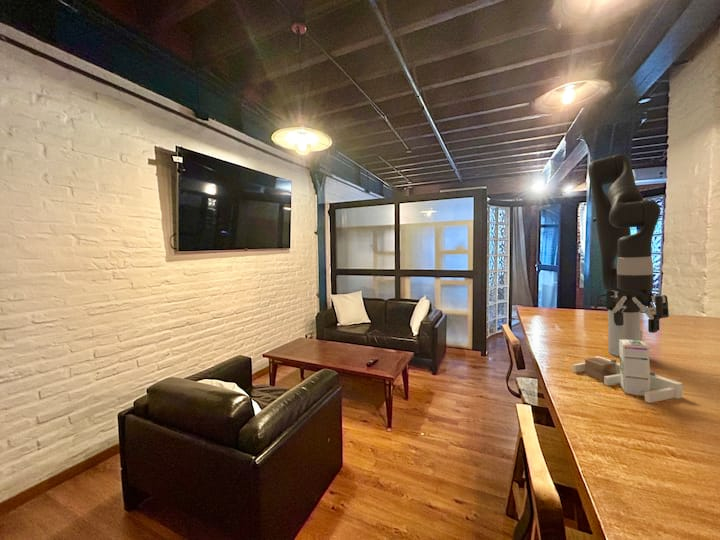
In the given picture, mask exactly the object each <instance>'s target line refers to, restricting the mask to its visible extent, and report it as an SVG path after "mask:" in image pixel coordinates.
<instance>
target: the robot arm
mask: <svg viewBox="0 0 720 540" xmlns="http://www.w3.org/2000/svg"><path fill="white" fill-rule="evenodd" d="M587 170H588V171H587V172H588V179H589V183H590V188H591V192H592V197H593V202H594V203H593V204H594V210H595V211H594V212H595V222H596V223H595V225H596V230H597V239H598V245H599V249H600V257H601V258H600V259H601V281H602V286H603V288H604V290H605V291H606V303H605V304H606V305H605V309H606V310H607V322H608V323H607V328H608V331H607V332H608V333H607V334H608V335H607V336H608V353H609V354H610V355H613V356H616V357H618V358H620V352H619V339H620V340H639V341H643V331H642V329H641V312H642V313H644V314H645V315H646V316H647V317H648V320H647V324H648V327H647V328H648V329H647V331H648V332H649V333H652V334H655V333H657V332H658V331H660V320H661V319H665V318H666V319H667V318H669V316H670V313H669V301H668V296H667V295H666V294H662V295H654V294H653V289H654V263H653V258H652V242H653V241H652V240H653V236H654V232H655V229H656V226H657V224H658V221H659V218H660V216H661V207H660V205H659V203H658V202H656V201H654V200H652V199H651V200H648V199H647V200H644V197H643V195H642V193H641V192H640V190H639V188H638V187H637V183H636V180H635V175H634V171H633V167H632V164H631V161H630V158H629V157H628V156H627V155H626V154H624V153H619V154H614V155H610V156H608V157H603V158H599V159H595V160H593V161H591V162H590V163H589V164H588V169H587ZM608 184H611V186H610V187H609V189H608V192H607V194H606V192H605V190H604V188H603V186H605V185H608ZM636 227H638V228H639V227H640V229H639V230H638V231H637V233H634V234H631V228H636ZM616 258H617V261H616V267H615V260H616ZM617 298H619V299H618V300H617ZM652 301H653V303H654V304H655V305H654V304H653V303H652Z"/></svg>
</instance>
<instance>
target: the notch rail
mask: <svg viewBox="0 0 720 540" xmlns="http://www.w3.org/2000/svg"><path fill="white" fill-rule="evenodd" d="M598 357H599V358H602V359H605V360H608V361H611V362H614V363H616V374H615V375H609V376H604V381H603V385H605V386H613V385H614V386H615V385H618V384H621V383H620V362H618V361H617V359H615V358H611V359H608V358H606V357H603V356H600V355H599V356H598V355H597V356H594V357H593V358H598ZM572 372H573V373H575V374H576V373H582V372H585V362H579V363H573V364H572ZM682 398H683V383H682V382H679V381H676V380H674V379H670V378H667V377H664V376H661V375H657V374H656V372H655V371H651V370H650V391H649V392H645V396H644V402H646V403H648V404H649V403H650V404H651V403H655V402H660V401H666V400H669V399H682Z"/></svg>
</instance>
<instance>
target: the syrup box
mask: <svg viewBox="0 0 720 540" xmlns="http://www.w3.org/2000/svg"><path fill="white" fill-rule="evenodd" d="M619 352H620V357H619V363H620V383H619V384H620V387H621V389H622V391H623V393H625V394H629V395H634V396H642V397H645V392H649V391H651V389H650V371H651V367H650V365H651V364H650V346H649V345H648V344H647V343H646V342H645V341H643V340H642V341H639V340H620V339H619Z"/></svg>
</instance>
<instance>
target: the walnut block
mask: <svg viewBox="0 0 720 540" xmlns="http://www.w3.org/2000/svg"><path fill="white" fill-rule="evenodd" d="M584 363H585V371H584V372H585V373H584V374H585V375H587V376H589V377H592V378H594V379H595V380H599V381H601V382H604V376H609V375H615V374H616V363H614V362H611V361H608V360H605V359H602V358H599V357H598V358H594V357H593V358H587V359H586V358H585V361H584Z"/></svg>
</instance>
